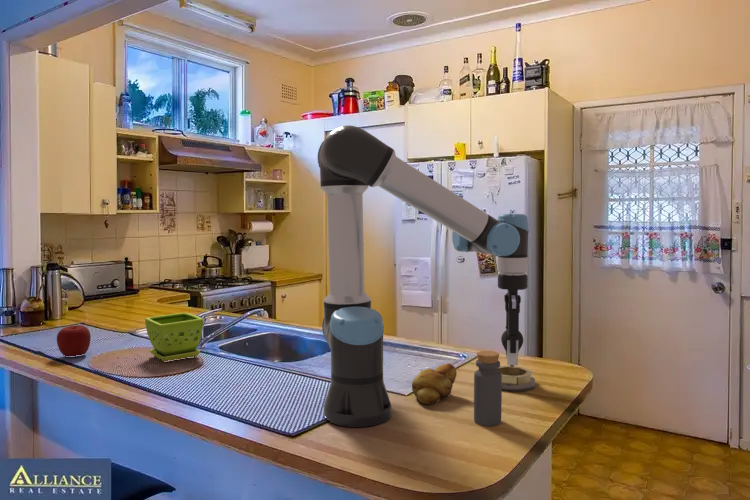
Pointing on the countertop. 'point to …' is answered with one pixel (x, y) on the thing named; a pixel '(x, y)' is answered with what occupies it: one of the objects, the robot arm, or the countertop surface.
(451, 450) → the countertop surface
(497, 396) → the bottle
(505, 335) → the light bulb
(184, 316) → the flower pot
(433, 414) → the countertop surface
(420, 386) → the bread roll
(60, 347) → the apple
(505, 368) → the octagonal rimmed dish
